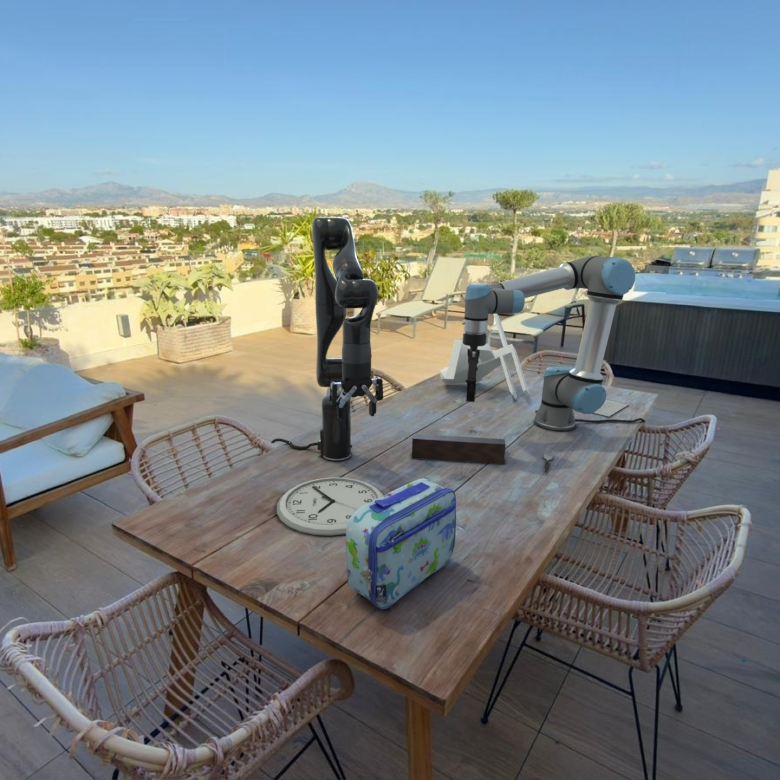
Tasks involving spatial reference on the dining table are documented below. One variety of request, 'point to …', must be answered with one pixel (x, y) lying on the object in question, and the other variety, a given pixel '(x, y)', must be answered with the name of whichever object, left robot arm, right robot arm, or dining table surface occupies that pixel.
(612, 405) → the invitation card
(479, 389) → the dining table surface
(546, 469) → the fork
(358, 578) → the lunch box
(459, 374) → the white plastic object
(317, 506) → the wall clock
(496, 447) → the walnut beam
